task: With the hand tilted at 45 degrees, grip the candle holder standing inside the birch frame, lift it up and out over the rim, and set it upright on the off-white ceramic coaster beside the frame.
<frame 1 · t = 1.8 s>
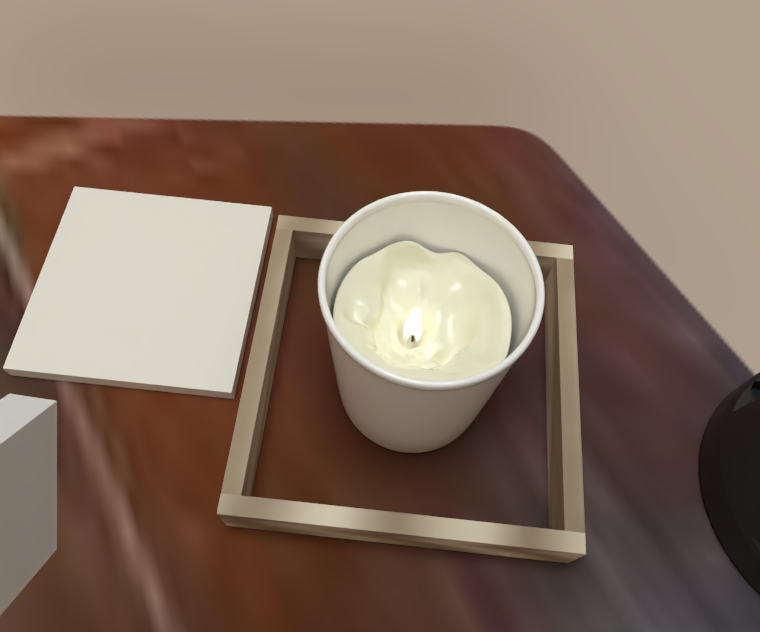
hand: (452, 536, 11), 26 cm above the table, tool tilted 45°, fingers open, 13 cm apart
coaster: (151, 290, 42), on the table
candle holder: (409, 386, 40), resting in birch frame
birch frame: (410, 385, 40), on the table
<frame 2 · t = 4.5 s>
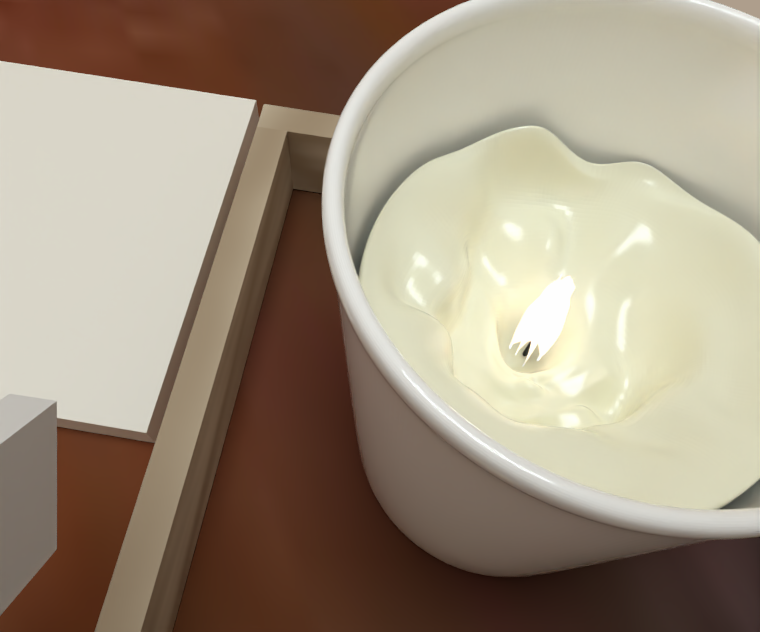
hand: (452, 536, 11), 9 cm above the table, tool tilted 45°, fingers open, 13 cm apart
coaster: (29, 230, 23), on the table
candle holder: (491, 436, 21), resting in birch frame
birch frame: (493, 434, 21), on the table
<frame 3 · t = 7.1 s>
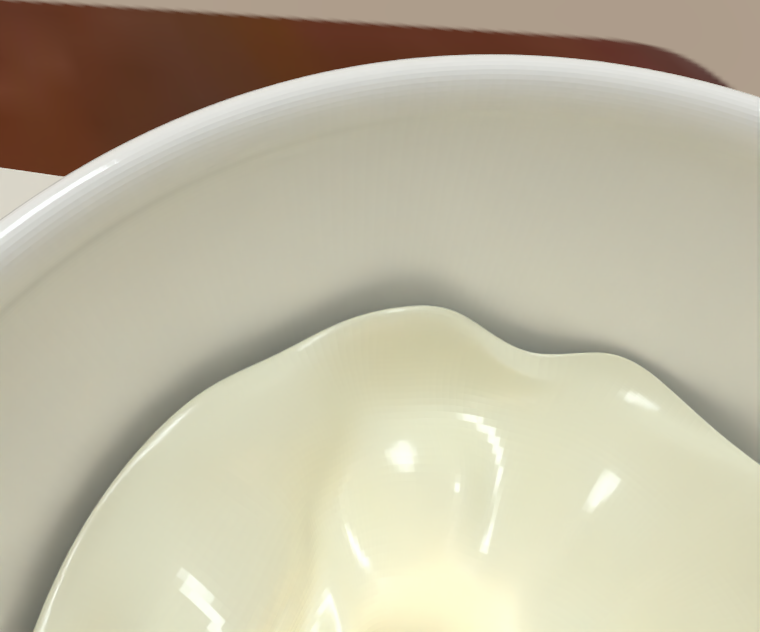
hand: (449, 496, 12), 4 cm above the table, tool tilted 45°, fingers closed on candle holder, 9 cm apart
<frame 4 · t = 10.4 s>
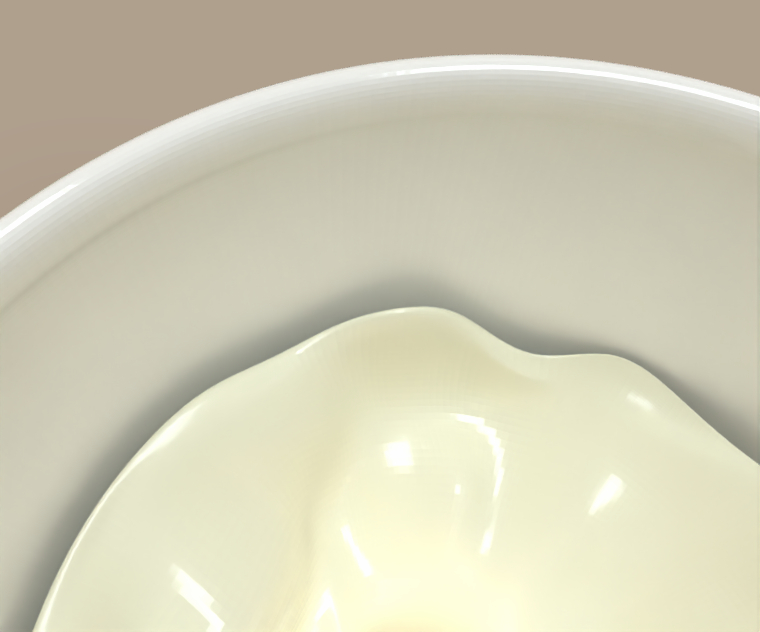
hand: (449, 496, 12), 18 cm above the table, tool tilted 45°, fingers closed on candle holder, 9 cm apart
when the fingers open (5 cm above the table, at t = 13.7 s): candle holder stays where it is, resting on coaster.
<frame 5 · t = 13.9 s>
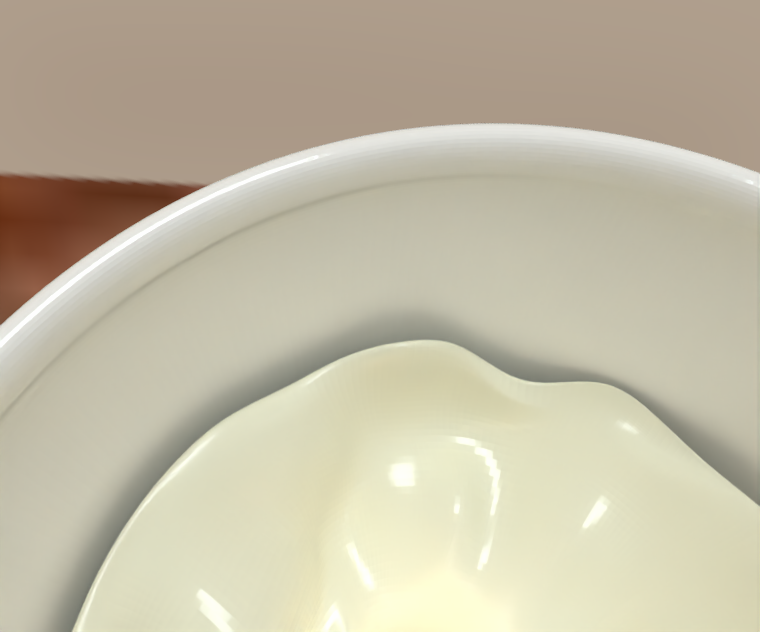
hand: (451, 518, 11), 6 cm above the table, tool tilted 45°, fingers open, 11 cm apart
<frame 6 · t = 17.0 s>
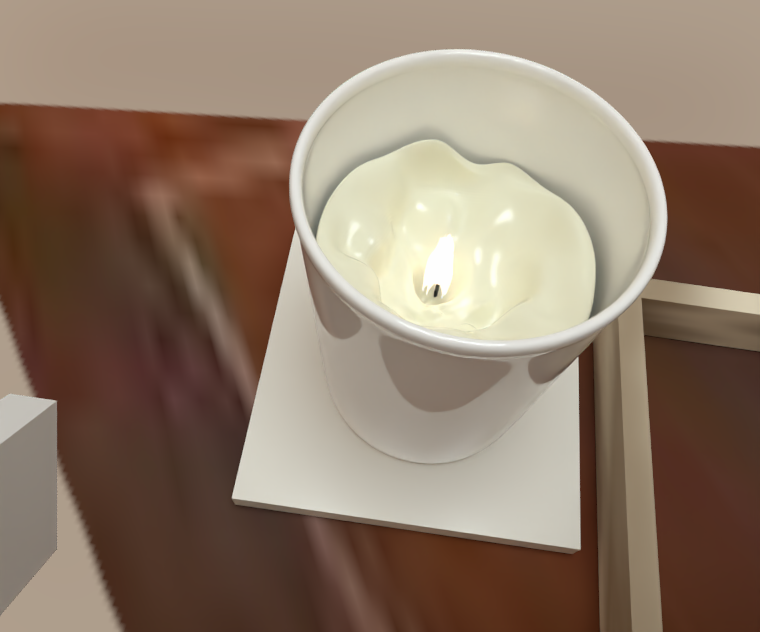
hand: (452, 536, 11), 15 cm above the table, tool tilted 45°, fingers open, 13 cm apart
coaster: (420, 374, 29), on the table
candle holder: (424, 369, 28), point 1 cm above the table, touching coaster
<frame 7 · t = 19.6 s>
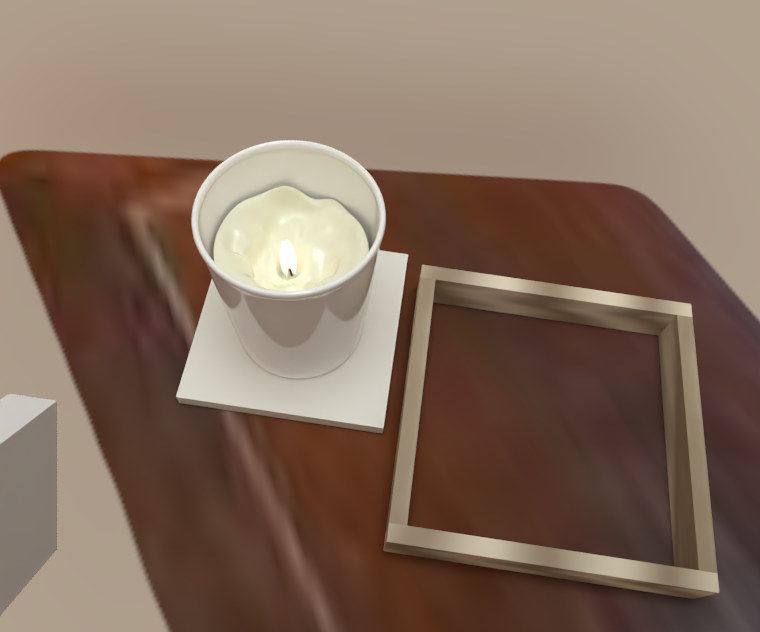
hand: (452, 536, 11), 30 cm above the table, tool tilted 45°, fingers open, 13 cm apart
coaster: (300, 327, 46), on the table
candle holder: (301, 324, 45), point 1 cm above the table, touching coaster
birch frame: (541, 427, 43), on the table
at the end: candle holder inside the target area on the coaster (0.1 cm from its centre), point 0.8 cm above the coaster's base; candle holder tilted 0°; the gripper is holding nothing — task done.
